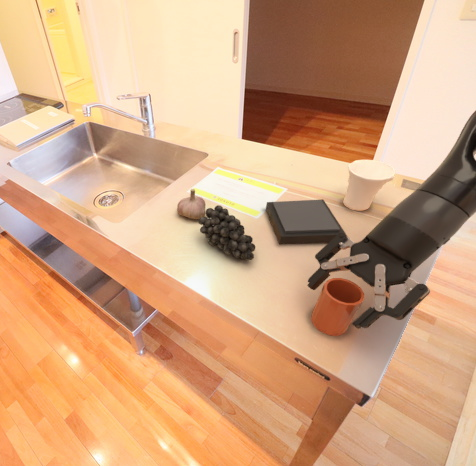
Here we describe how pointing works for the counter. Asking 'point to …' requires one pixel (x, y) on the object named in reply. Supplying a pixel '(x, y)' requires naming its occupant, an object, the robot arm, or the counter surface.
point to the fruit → (227, 233)
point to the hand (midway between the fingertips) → (331, 306)
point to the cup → (366, 182)
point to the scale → (303, 222)
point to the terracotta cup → (337, 306)
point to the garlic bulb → (192, 206)
